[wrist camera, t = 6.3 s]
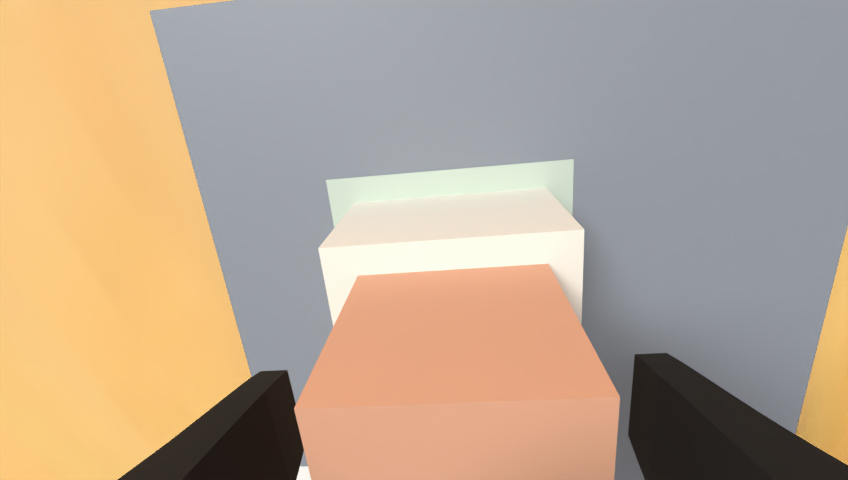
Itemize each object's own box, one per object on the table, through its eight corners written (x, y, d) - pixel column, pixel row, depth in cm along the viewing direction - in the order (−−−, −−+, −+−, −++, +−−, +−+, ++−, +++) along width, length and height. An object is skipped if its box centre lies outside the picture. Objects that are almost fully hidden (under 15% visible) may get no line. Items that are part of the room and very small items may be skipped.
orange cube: (547, 418, 11) (604, 613, 7) (381, 423, 12) (344, 611, 7) (548, 263, 10) (620, 397, 6) (357, 275, 10) (293, 408, 6)
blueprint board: (746, 559, 19) (759, 580, 18) (313, 561, 21) (307, 580, 20) (893, -75, 11) (928, -87, 10) (166, 15, 13) (148, 10, 12)
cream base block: (546, 353, 15) (577, 442, 11) (379, 361, 16) (356, 448, 12) (546, 187, 13) (584, 229, 9) (354, 202, 14) (318, 248, 10)
